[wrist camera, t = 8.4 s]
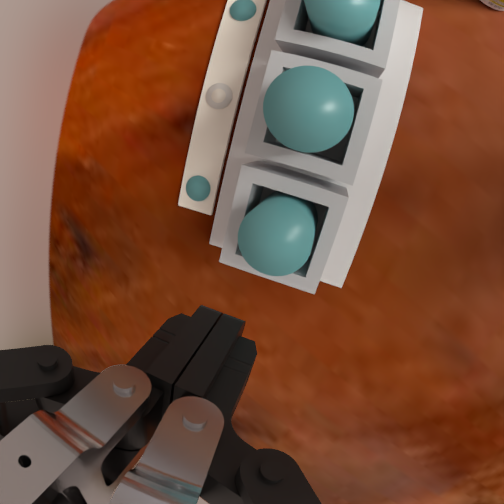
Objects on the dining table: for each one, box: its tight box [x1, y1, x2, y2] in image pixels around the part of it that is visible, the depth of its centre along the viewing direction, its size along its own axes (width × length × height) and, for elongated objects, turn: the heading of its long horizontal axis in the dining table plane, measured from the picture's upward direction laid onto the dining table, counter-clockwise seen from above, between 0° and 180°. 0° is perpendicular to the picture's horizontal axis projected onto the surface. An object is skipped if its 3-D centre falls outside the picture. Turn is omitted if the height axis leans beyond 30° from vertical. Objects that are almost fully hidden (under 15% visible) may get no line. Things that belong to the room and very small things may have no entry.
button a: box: [304, 0, 380, 46], centre depth 16 cm, size 5×5×6 cm
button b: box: [263, 66, 354, 153], centre depth 18 cm, size 5×5×6 cm
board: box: [209, 0, 423, 294], centre depth 21 cm, size 12×25×5 cm, turn 166°
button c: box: [238, 191, 318, 276], centre depth 22 cm, size 5×5×6 cm
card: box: [178, 0, 267, 215], centre depth 24 cm, size 3×20×1 cm, turn 166°
